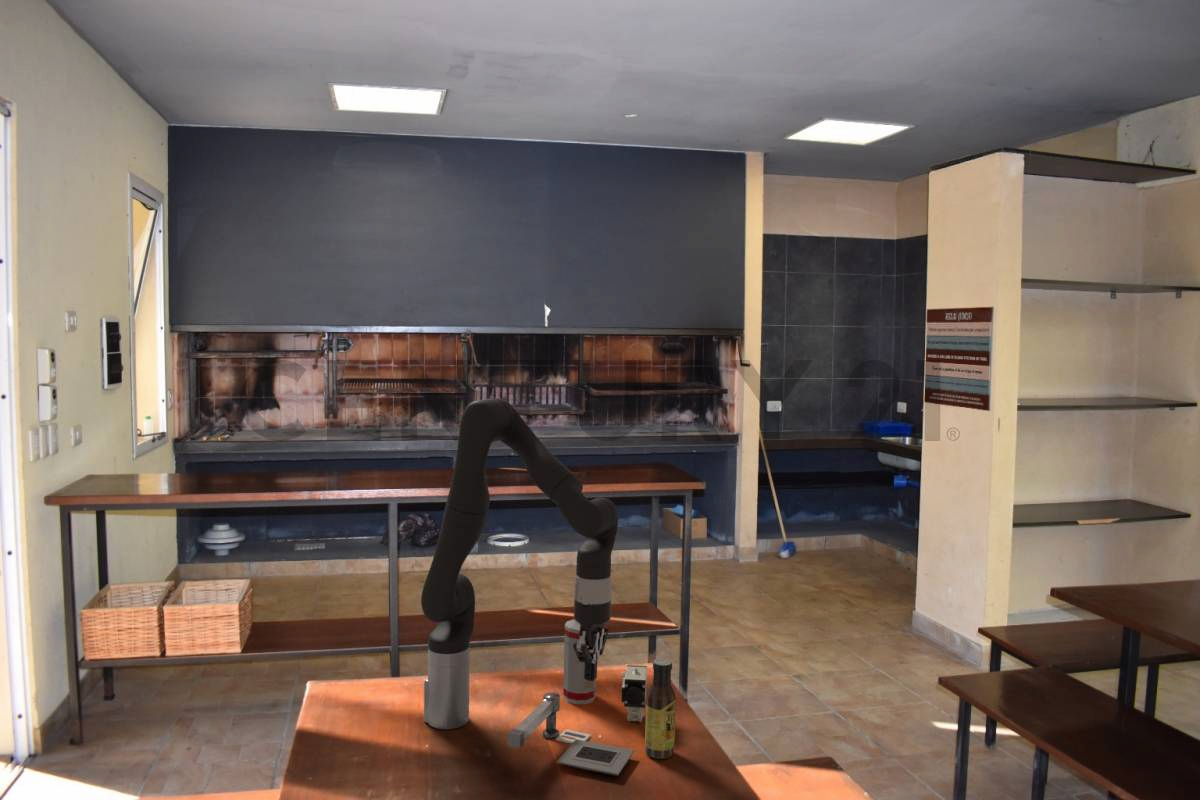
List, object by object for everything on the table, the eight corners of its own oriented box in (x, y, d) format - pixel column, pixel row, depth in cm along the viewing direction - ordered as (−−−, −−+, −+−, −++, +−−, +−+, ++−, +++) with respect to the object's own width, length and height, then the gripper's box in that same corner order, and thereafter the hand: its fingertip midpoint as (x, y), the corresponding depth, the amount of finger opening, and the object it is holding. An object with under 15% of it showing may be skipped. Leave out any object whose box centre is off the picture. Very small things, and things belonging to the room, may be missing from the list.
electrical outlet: (634, 759, 188) (634, 748, 187) (618, 783, 178) (618, 772, 178) (575, 748, 192) (575, 737, 192) (556, 771, 182) (556, 760, 182)
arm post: (539, 737, 196) (540, 712, 196) (547, 730, 199) (547, 705, 199) (554, 740, 195) (554, 715, 194) (561, 733, 198) (562, 708, 197)
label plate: (555, 740, 195) (556, 738, 195) (566, 730, 199) (566, 728, 199) (580, 746, 192) (580, 743, 192) (590, 736, 197) (590, 734, 197)
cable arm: (546, 704, 199) (547, 691, 198) (562, 707, 198) (562, 694, 197) (505, 746, 179) (505, 732, 178) (522, 749, 177) (522, 735, 177)
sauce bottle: (670, 763, 186) (673, 669, 184) (641, 758, 188) (643, 665, 186) (677, 749, 192) (680, 658, 190) (648, 744, 194) (651, 655, 192)
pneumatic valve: (645, 708, 212) (647, 659, 211) (644, 730, 200) (645, 678, 199) (622, 707, 212) (623, 658, 211) (619, 729, 201) (620, 677, 200)
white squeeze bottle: (567, 689, 222) (569, 591, 219) (596, 692, 221) (599, 592, 218) (561, 703, 214) (563, 600, 212) (592, 705, 213) (594, 602, 211)
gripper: (589, 585, 190) (587, 665, 191) (561, 602, 178) (559, 687, 179) (622, 591, 187) (619, 671, 188) (596, 608, 175) (593, 694, 176)
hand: (590, 679), depth 184 cm, fingers closed
